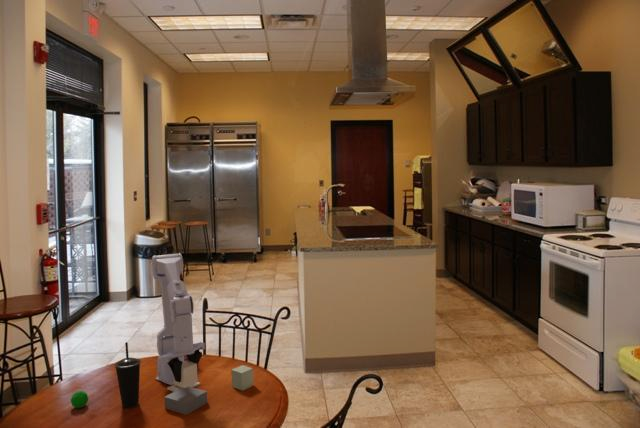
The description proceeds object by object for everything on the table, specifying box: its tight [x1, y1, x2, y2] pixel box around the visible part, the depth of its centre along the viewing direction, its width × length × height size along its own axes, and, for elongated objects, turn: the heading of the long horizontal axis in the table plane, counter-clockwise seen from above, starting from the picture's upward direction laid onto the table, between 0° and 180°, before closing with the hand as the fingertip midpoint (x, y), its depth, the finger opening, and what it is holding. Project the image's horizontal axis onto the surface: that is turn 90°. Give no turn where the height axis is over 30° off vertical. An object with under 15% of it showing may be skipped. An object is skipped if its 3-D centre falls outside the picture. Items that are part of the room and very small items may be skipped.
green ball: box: [70, 390, 89, 409], centre depth 161 cm, size 5×5×5 cm
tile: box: [166, 381, 201, 393], centre depth 174 cm, size 6×9×1 cm, turn 141°
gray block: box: [164, 386, 208, 416], centre depth 160 cm, size 9×9×4 cm
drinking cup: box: [114, 341, 142, 409], centre depth 161 cm, size 8×8×20 cm
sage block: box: [231, 364, 254, 391], centre depth 173 cm, size 5×5×6 cm
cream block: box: [174, 360, 199, 388], centre depth 160 cm, size 5×5×6 cm
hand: (185, 378), depth 160 cm, fingers closed on cream block, 5 cm apart
